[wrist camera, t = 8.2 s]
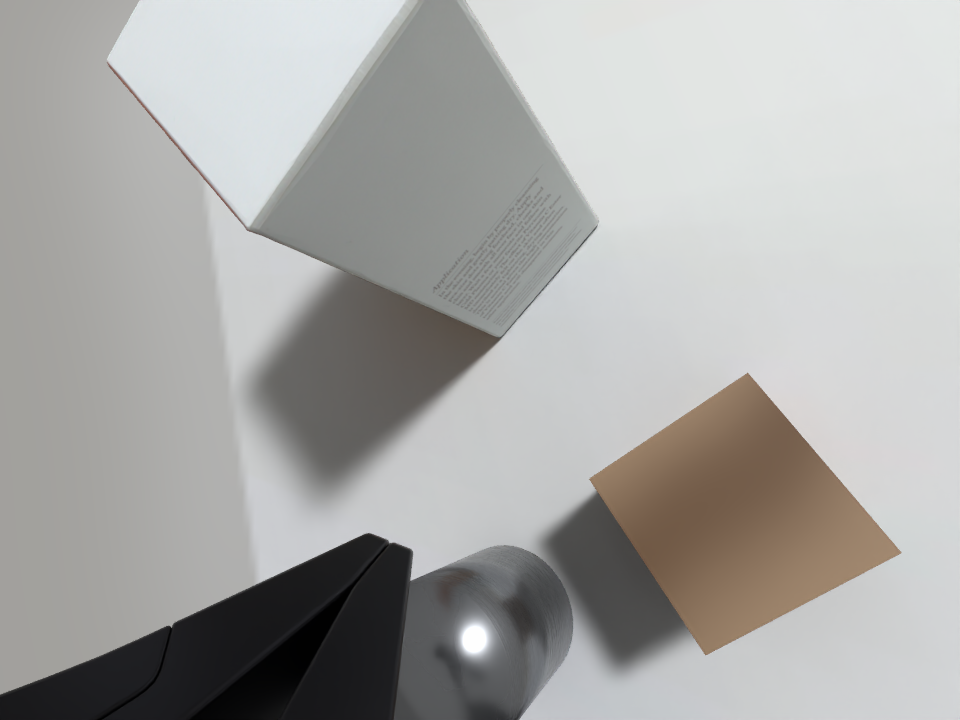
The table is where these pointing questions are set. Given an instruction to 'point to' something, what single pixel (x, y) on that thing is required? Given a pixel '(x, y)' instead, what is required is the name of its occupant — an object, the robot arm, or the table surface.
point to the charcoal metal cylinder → (482, 637)
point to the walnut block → (739, 516)
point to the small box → (365, 142)
